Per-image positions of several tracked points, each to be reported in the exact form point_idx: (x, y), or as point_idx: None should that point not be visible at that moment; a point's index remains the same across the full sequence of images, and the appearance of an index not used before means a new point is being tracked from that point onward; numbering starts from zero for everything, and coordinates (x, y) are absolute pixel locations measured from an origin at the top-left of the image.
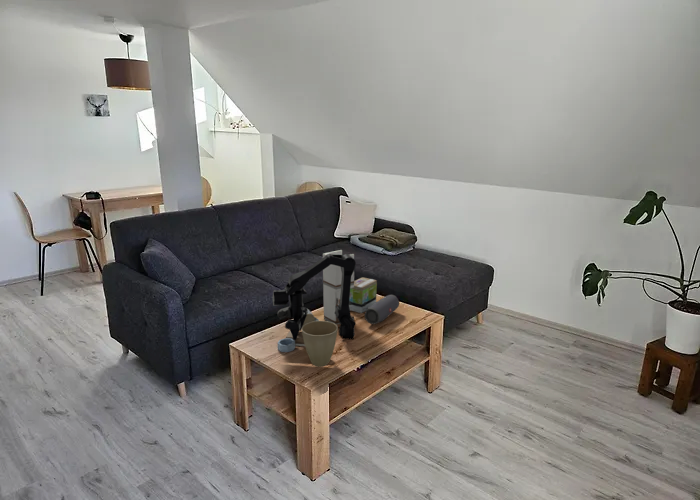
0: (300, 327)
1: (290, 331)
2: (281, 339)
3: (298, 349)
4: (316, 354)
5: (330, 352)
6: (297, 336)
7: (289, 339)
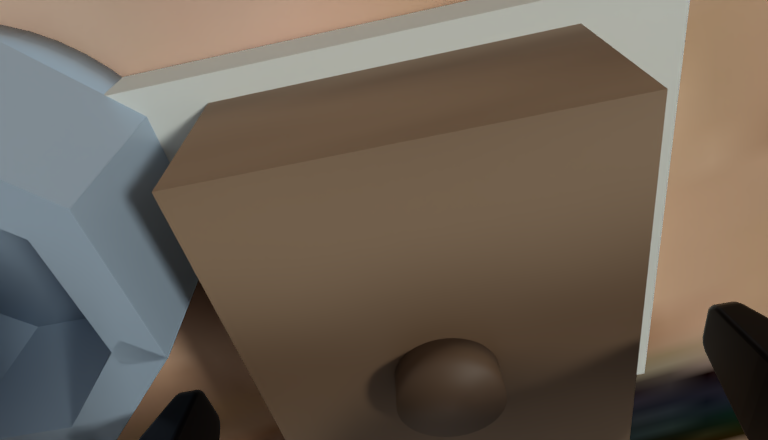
0: (766, 429)
1: (622, 143)
2: None
3: (193, 340)
4: None
5: None
6: (343, 412)
7: (100, 328)
